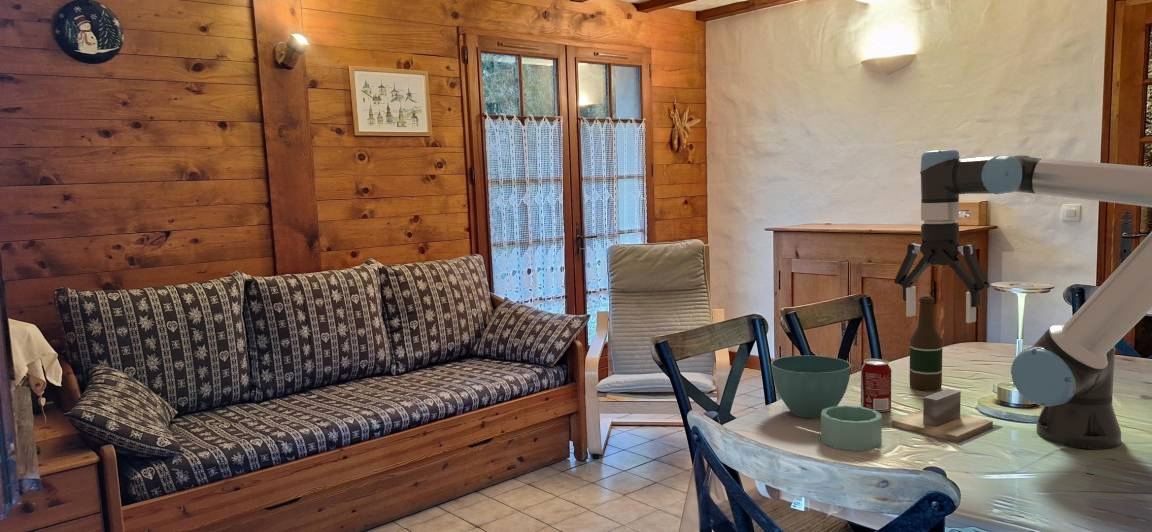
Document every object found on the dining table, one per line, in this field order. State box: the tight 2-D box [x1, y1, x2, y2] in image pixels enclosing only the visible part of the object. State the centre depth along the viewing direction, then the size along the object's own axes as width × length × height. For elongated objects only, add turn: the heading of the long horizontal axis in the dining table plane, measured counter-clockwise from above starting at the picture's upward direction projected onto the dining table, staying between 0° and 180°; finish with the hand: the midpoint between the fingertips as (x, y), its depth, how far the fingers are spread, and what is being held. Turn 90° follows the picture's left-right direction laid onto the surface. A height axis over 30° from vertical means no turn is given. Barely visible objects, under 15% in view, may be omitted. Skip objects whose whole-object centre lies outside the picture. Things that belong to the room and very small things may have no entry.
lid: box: [891, 388, 994, 442], centre depth 178 cm, size 15×15×7 cm
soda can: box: [860, 358, 892, 414], centre depth 192 cm, size 7×7×12 cm
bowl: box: [820, 404, 883, 452], centre depth 171 cm, size 12×12×6 cm
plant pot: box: [770, 354, 852, 419], centre depth 191 cm, size 18×18×12 cm
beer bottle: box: [909, 296, 943, 392], centre depth 210 cm, size 8×8×24 cm
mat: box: [882, 421, 1003, 446], centre depth 178 cm, size 18×18×1 cm
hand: (940, 319), depth 176 cm, fingers open, 13 cm apart
